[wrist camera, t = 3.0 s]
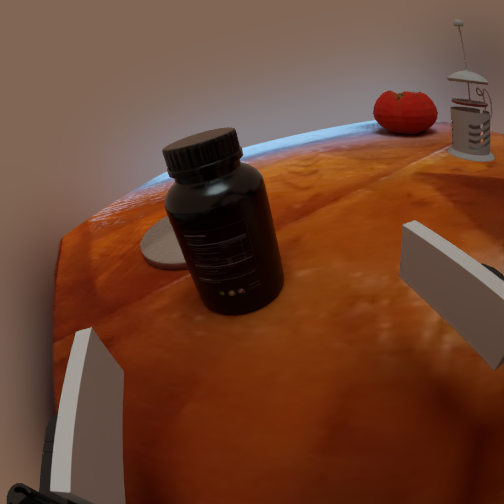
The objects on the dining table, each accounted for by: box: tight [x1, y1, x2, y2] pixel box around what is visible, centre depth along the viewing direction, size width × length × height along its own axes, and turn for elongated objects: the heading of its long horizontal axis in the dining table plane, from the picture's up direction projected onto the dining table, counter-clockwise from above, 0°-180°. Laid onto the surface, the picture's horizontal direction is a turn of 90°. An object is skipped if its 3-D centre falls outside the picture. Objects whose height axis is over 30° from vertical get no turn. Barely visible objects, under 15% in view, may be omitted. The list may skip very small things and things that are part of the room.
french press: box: [447, 20, 494, 162], centre depth 35 cm, size 10×12×25 cm
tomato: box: [373, 91, 438, 134], centre depth 57 cm, size 14×16×10 cm
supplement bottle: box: [163, 128, 284, 314], centre depth 21 cm, size 7×7×12 cm
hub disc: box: [141, 216, 188, 270], centre depth 34 cm, size 14×14×1 cm
